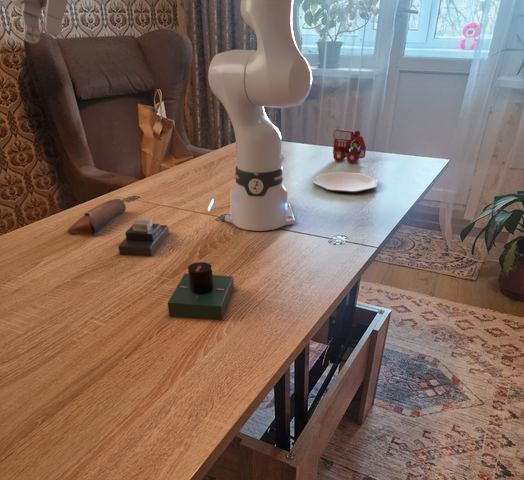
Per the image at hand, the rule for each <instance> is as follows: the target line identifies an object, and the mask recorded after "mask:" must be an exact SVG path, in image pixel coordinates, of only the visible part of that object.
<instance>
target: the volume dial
mask: <svg viewBox="0 0 524 480" xmlns="http://www.w3.org/2000/svg"><path fill="white" fill-rule="evenodd" d="M187 270H188V271H187V272H188V274H189V282H190V290H191V291H192V292H193V293H196V294H205V293H209V292H211V291H212V290H213V276H212V275H213V266H212V264H211V263H208V262H204V261H198V262H193V263H191V264H189V265H188V266H187Z"/></svg>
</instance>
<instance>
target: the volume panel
mask: <svg viewBox="0 0 524 480" xmlns="http://www.w3.org/2000/svg"><path fill="white" fill-rule="evenodd" d="M212 276H213V290H212V291H211V292H209V293H205V294H196V293H193V292H192V291H191V290H190V282H189V273H184V274H183V276H182V277H181V279H180V281H179V282H178V284H177V286H176V287H175V289H174V291H173V292H172V295H171V296H170V298H169V300H168V301H167V309H168V316H169V317H170V318H184V319H198V320H199V319H200V320H214V321H215V320H216V321H223V318H224V316H225V313H226V311H227V308H228V305H229V303H230V300H231V297H232V295H233V292H234V290H235V288H234V287H235V286H234V285H235V284H234V276H233V275H232V276H231V275H221V274H220V275H219V274H218V275H217V274H212Z"/></svg>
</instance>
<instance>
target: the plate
mask: <svg viewBox="0 0 524 480" xmlns="http://www.w3.org/2000/svg"><path fill="white" fill-rule="evenodd" d="M378 182H379V179H377V178H375V177H372V176H370V175H368V174H366V173H365V174H364V173H361V172H349V171H333V172H328V173H322V174H321V173H320V174H318V175H316V177H315V179H314V180H313V185H315V186H318V187H320V188H322V189H324V190H326V191H329V192H340V193H341V192H342V193H352V194H353V193H360V192H365V191H370V190H375V189H376V188H377V186H378Z"/></svg>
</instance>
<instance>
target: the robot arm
mask: <svg viewBox="0 0 524 480" xmlns="http://www.w3.org/2000/svg"><path fill="white" fill-rule="evenodd" d="M11 3H12V5H14V6H15V7H18V8H20V9H21V19H22V24H23V40H24V41H25V42H28V43H30V44H33V45H36V44H38V43H39V42H40V41H41V29H40V18H41V12H42V11H44V10H45V13H44V14H45V15H43V21H42V23H43V25H42V30H43V32H44V33H45V34H47V35H50V36H52V37H58V36H59V35H61V34H62V26H63V25H62V24H63V19H64V15H65V12H66V8H67V5H68V0H11ZM293 5H294V0H240V7H239V8H240V9H239V10H240V14H241V17H242V20H243V21H244V23H245V24H246V25H247V26H248V27H249V28H250V29H251V30H253V31H254V33H255V36H256V50H255V49H231V50H227V51H222V52H219V53H217V54H216V55H214V56H213V58H212V59H211V61H210V64H209V67H208V71H207V79H208V85H209V88H210V90H211V92H212V94H213V95H214V96H215V97H216V99H218V100H219V101H220V103H221V104H222V105H223V107H224V109H225V110H226V113H227V115H228V117H229V120H230V122H231V125H232V129H233V133H234V137H235V138H234V139H235V151H236V152H235V153H236V166H235V172H234V176H235V182H236V183H235V185H234V186H233V187H232V188H231V189H230V191H229V193H230V195H229V196H230V199H229V201H230V204H229V207H230V208H229V209H230V211H229V212H228V213H227V214H226V215H224V221H225V222H228V223H230V224H232V225H234V226H235V227H237V228H239V229H241V230H246V231H253V232H266V231H273V230H277V229H280V228H283V227H285V226H291V225H294V224H295V223H296V220H295V216H294V213H293V209H292V207H291V204H290V202H289V201H288V191H287V189H286V187H285V186H284V184H283V180H284V178H283V177H284V170H283V166H282V157H283V154H282V142H283V141H282V139H283V138H282V134H281V131H280V129H279V128H278V127H277V126H276V125H275V124H274V123H273V122H272V121H271V120H270V119H269V117H268V116H267V113H266V112H265V111H266V110H265V107H266V108H273V109H274V108H275V109H286V108H293V107H298V106H300V105H302V104H303V103H304V102H305V101H306V99H307V98H308V96H309V94H310V91H311V89H312V84H313V74H312V69H311V67H310V64H309V62H308V61H307V59H306V58H305V57H304V56H303V55H302V52H301V51H300V49H299V48H298V45H297V43H296V39H295V36H294V30H293ZM214 200H215V199H214V198H212V199H211V201H210V203H209V205H208V207H207V211H208V212H211V211H210V210H211V209H212V207H213V204H214V202H215V201H214Z"/></svg>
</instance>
